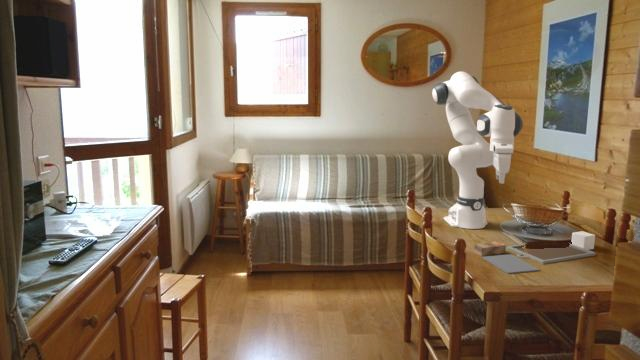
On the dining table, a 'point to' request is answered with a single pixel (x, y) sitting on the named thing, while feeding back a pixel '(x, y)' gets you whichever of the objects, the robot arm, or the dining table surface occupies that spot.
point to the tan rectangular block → (489, 248)
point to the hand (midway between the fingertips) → (500, 181)
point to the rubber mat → (510, 264)
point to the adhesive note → (583, 240)
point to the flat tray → (551, 253)
